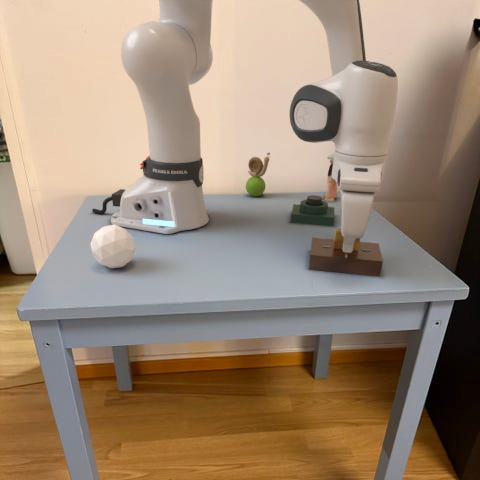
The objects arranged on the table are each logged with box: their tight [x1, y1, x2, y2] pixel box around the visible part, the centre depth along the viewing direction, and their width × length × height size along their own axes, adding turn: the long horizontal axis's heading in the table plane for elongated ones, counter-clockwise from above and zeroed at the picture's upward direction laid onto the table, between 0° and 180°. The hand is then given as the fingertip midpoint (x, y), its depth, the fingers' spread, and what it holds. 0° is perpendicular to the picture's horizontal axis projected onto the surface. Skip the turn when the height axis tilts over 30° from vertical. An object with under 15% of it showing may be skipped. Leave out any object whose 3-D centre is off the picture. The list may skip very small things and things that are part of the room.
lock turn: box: [334, 228, 361, 251], centre depth 85 cm, size 5×1×4 cm, turn 80°
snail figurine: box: [245, 151, 271, 197], centre depth 123 cm, size 5×6×12 cm
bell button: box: [306, 194, 323, 206], centre depth 108 cm, size 4×4×2 cm
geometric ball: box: [89, 224, 136, 270], centre depth 82 cm, size 8×8×8 cm
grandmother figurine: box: [324, 150, 338, 203], centre depth 122 cm, size 8×4×13 cm, turn 179°
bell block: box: [290, 199, 335, 227], centre depth 109 cm, size 10×8×4 cm
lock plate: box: [308, 237, 384, 277], centre depth 87 cm, size 13×9×3 cm
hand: (346, 244), depth 86 cm, fingers open, 6 cm apart
